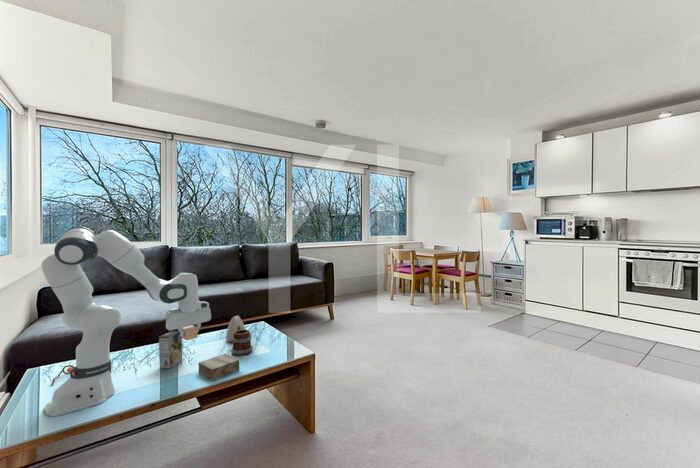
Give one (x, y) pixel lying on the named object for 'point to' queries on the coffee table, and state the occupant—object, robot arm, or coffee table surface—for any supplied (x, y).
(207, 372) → the block
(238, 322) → the sculpture
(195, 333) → the cube
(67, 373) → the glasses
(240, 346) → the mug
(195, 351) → the coffee table surface
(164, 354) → the coffee box
